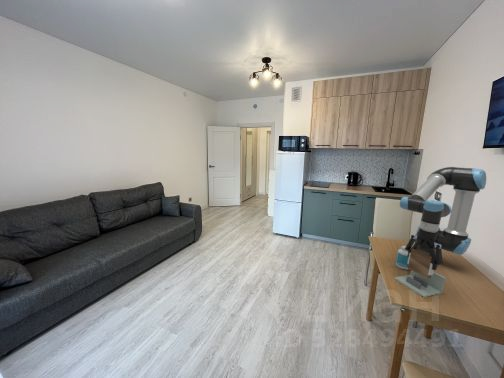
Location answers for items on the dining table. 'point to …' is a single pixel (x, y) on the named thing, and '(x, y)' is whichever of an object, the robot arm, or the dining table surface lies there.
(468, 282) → the dining table surface
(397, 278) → the pale green l-shaped piece
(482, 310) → the dining table surface
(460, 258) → the dining table surface
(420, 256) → the door panel
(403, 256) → the pill bottle
